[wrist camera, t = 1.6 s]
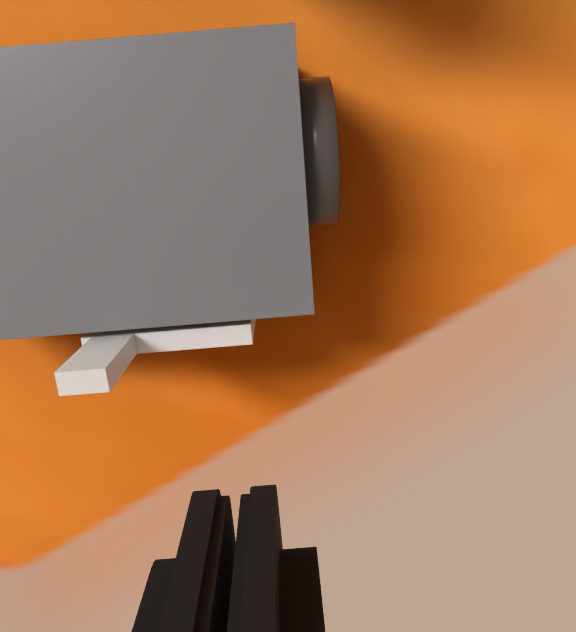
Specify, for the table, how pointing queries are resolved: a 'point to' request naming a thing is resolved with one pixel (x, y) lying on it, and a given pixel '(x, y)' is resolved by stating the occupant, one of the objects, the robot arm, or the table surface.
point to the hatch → (140, 351)
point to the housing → (161, 180)
